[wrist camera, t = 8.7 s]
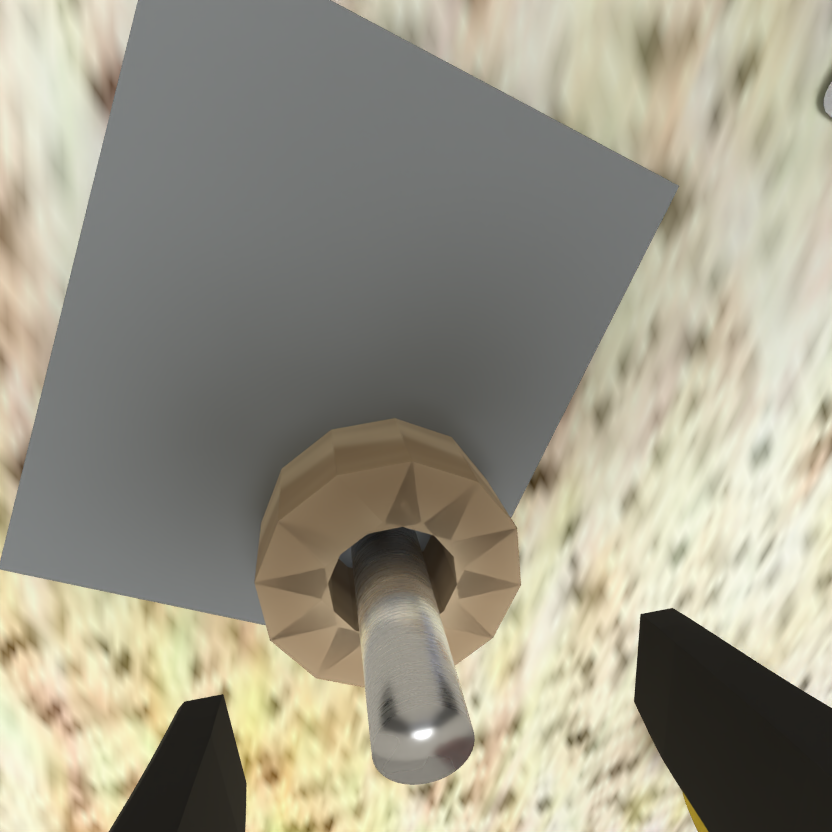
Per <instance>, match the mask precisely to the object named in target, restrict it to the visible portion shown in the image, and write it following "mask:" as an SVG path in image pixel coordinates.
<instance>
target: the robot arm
mask: <svg viewBox="0 0 832 832" xmlns="http://www.w3.org/2000/svg"><path fill="white" fill-rule="evenodd" d="M824 108H825V111H826V113H827V114H828V115H829V116H830V117H832V82H831V83H830V85H829V87H828V89H827V91H826V94H825V97H824ZM634 702H635V704H636V707H637V709H638V711H639V713H640V715H641V717H642V719H643V721H644V723H645V725H646V728H647V730H648V732H649V734H650V736H651V738H652V740H653V742H654V744H655V746H656V747H657V749H658V751H659V753H660V755H661V757H662V759H663V761H664V763H665V764H666V766H667V767H668V769H669V771H670V772H671V774H672V775H673V777H674V779H675V780H676V782H677V783H678V785H679V786H680V788H681V790H682V791H683V793H684V794H685V796H686V798H687V799H688V801H689V802H690V804H691V805H692V807H693V809H694V810H695V812H696V813H697V815H698V816H699V818H700V819H701V821H702V822H703V824H704V826H705V827H706V829H707V830H708V832H832V708H831V707H829V706H827V705H826V704H824V703H822V702H821V701H819V700H817V699H816V698H814V697H812V696H811V695H809V694H807V693H806V692H804V691H802V690H801V689H799V688H797V687H796V686H794V685H793V684H791V683H789V682H788V681H786V680H785V679H783V678H781V677H780V676H778V675H777V674H775V673H773V672H772V671H770V670H769V669H767V668H765V667H764V666H762V665H761V664H759V663H758V662H756V661H754V660H753V659H751V658H750V657H748V656H747V655H745V654H744V653H742V652H741V651H739V650H737V649H736V648H734V647H733V646H731V645H730V644H728V643H727V642H725V641H724V640H722V639H721V638H719V637H717V636H716V635H714V634H713V633H711V632H710V631H708V630H707V629H705V628H704V627H702V626H701V625H699V624H697V623H696V622H694V621H693V620H691V619H690V618H688V617H686V616H685V615H683V614H682V613H680V612H678V611H677V610H675V609H673V608H671V609H665V610H660V611H655V612H650V613H645V614H641V616H640V630H639V643H638V656H637V670H636V683H635V697H634ZM245 822H246V780H245V776H244V772H243V769H242V765H241V761H240V757H239V753H238V749H237V745H236V742H235V738H234V734H233V730H232V726H231V722H230V718H229V714H228V711H227V707H226V703H225V699H224V695H223V694H222V695H217V696H212V697H207V698H201V699H196V700H191V701H186V702H184V703H183V704H182V705H181V706H180V708H179V709H178V711H177V713H176V715H175V716H174V718H173V720H172V722H171V724H170V726H169V728H168V730H167V731H166V733H165V735H164V737H163V739H162V741H161V743H160V744H159V746H158V748H157V750H156V752H155V754H154V755H153V757H152V759H151V761H150V763H149V764H148V766H147V768H146V770H145V771H144V773H143V775H142V777H141V778H140V780H139V782H138V784H137V785H136V787H135V789H134V791H133V792H132V794H131V796H130V797H129V799H128V801H127V802H126V804H125V806H124V807H123V809H122V811H121V812H120V814H119V816H118V817H117V819H116V821H115V822H114V824H113V826H112V827H111V829H110V831H109V832H245Z"/></svg>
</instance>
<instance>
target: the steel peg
mask: <svg viewBox="0 0 832 832" xmlns="http://www.w3.org/2000/svg"><path fill="white" fill-rule="evenodd" d="M351 555H352V565H353V574H354V584H355V594H356V604H357V614H358V623H359V633H360V643H361V653H362V662H363V672H364V682H365V692H366V702H367V711H368V721H369V731H370V741H371V751H372V759H373V762H374V765H375V767H376V768H377V770H378V771H379V772H380V773H381V774H382V775H383V776H385V777H386V778H388V779H390V780H392V781H395V782H398V783H402V784H410V785H417V784H425V783H430V782H434V781H437V780H440V779H442V778H444V777H446V776H448V775H450V774H452V773H453V772H455V771H456V770H457V769H459V768H460V767H461V766H462V765H463V764H464V763H465V761H466V760H467V759H468V757H469V756H470V754H471V752H472V750H473V746H474V732H473V728H472V724H471V721H470V718H469V714H468V711H467V707H466V704H465V700H464V697H463V693H462V690H461V686H460V683H459V679H458V676H457V672H456V669H455V665H454V662H453V659H452V655H451V652H450V648H449V645H448V641H447V638H446V634H445V631H444V627H443V624H442V620H441V617H440V613H439V610H438V606H437V603H436V600H435V596H434V593H433V589H432V586H431V582H430V579H429V575H428V572H427V568H426V565H425V561H424V558H423V554H422V551H421V548H420V544H419V541H418V537H417V534H416V530H412V529H409V528H405V527H399V528H394V529H389V530H384V531H379V532H374V533H369V534H367V535H365V536H364V537H363V538H362V539H360V540H359V541H358V542H356V543H355V544H354V545H352V546H351Z"/></svg>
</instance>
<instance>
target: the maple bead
mask: <svg viewBox="0 0 832 832" xmlns="http://www.w3.org/2000/svg"><path fill="white" fill-rule="evenodd" d="M399 527H405V528H409V529H412V530H416V531H420V532H423V533H427V534H430V535H431V537H430V539H429V541H428V543H427V545H426V547H425V549H424V551H423V552H422V554H423V558H424V561H425V565H426V568H427V572H428V575H429V579H430V582H431V586H432V589H433V593H434V596H435V600H436V603H437V606H438V610H439V613H440V617H441V620H442V624H443V627H444V631H445V634H446V638H447V641H448V645H449V648H450V652H451V655H452V659H453V662H454V665H456V664H458V663H459V662H460V661H462V660H463V659H465V658H466V657H467V656H469V655H470V654H471V653H473V652H474V651H475V650H477V649H478V648H480V647H481V646H482V645H484V644H485V643H486V642H488V641H489V640H491V639H492V638H493V637H494V635H495V633H496V631H497V629H498V627H499V625H500V624H501V622H502V620H503V618H504V616H505V614H506V612H507V610H508V608H509V607H510V605H511V603H512V601H513V599H514V597H515V595H516V593H517V591H518V590H519V588H520V586H521V579H520V565H519V550H518V536H517V527H516V526H515V524H514V522H513V521H512V519H511V518H510V516H509V515H508V513H507V511H506V510H505V508H504V507H503V505H502V503H501V502H500V500H499V499H498V497H497V495H496V494H495V492H494V491H493V489H492V487H491V486H490V484H489V483H488V481H487V480H486V478H485V477H484V476H483V475H482V473H481V472H480V471H479V470H478V469H477V467H476V466H475V465H474V464H473V462H472V461H471V460H470V459H469V458H468V456H467V455H466V454H465V453H464V452H463V450H462V449H461V448H460V447H459V445H458V444H457V443H456V442H455V441H454V439H453V438H452V437H450V436H447V435H444V434H441V433H438V432H435V431H432V430H429V429H426V428H423V427H420V426H417V425H414V424H411V423H408V422H405V421H402V420H399V419H396V418H393V419H387V420H382V421H376V422H371V423H365V424H360V425H354V426H348V427H343V428H337V429H331V430H330V431H329V432H328V433H326V434H325V435H324V436H323V437H321V438H320V439H319V440H317V441H316V442H315V443H314V444H312V445H311V446H310V447H309V448H307V449H306V450H305V451H304V452H302V453H301V454H300V455H298V456H297V457H296V458H295V459H293V460H292V461H291V462H290V463H288V464H287V465H286V466H285V467H283V468H282V469H281V472H280V474H279V477H278V480H277V482H276V485H275V488H274V490H273V493H272V496H271V498H270V501H269V504H268V506H267V509H266V512H265V514H264V517H263V519H262V522H261V529H260V538H259V546H258V555H257V564H256V573H255V582H254V583H255V587H256V590H257V594H258V598H259V601H260V605H261V609H262V612H263V616H264V620H265V624H266V627H267V631H268V635H269V638H270V641H272V642H273V643H274V644H275V645H276V646H278V647H279V648H280V649H281V650H282V651H284V652H285V653H286V654H287V655H289V656H290V657H291V658H292V659H293V660H295V661H296V662H297V663H298V664H299V665H301V666H302V667H303V668H304V669H306V670H307V671H308V672H309V673H310V674H312V675H313V676H314V677H315V678H318V679H323V680H328V681H333V682H339V683H344V684H349V685H355V686H360V687H365V682H364V672H363V662H362V653H361V643H360V633H359V623H358V614H357V604H356V594H355V584H354V574H353V568H350V567H347V566H346V565H345V564H344V563H343V562H342V561H341V560H340V559H339V556H340V555H341V554H342V553H343V552H345V551H346V550H347V549H348V548H350V547H351V546H352V545H354V544H355V543H356V542H358V541H359V540H360V539H362V538H363V537H364V536H365V535H367V534H369V533H374V532H379V531H384V530H389V529H394V528H399Z"/></svg>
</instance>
